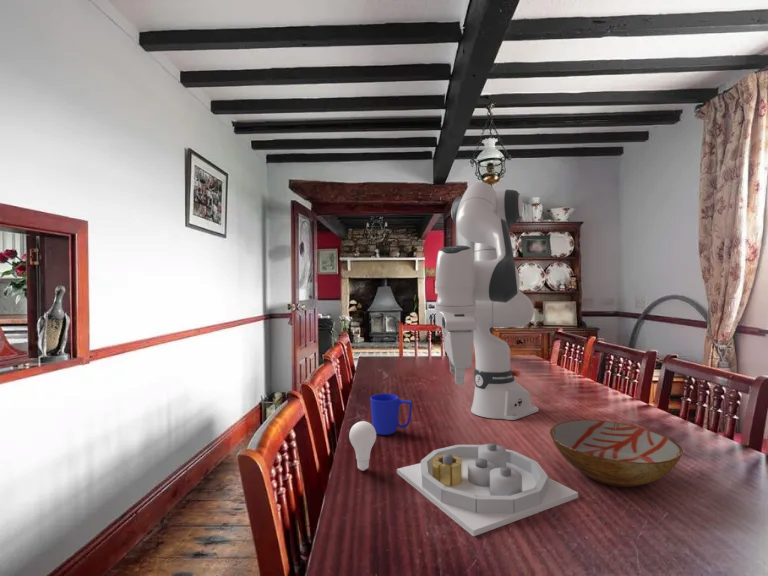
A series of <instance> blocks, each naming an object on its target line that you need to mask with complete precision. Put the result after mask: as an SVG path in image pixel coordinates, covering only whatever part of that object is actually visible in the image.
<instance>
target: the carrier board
mask: <svg viewBox="0 0 768 576" xmlns="http://www.w3.org/2000/svg"><path fill="white" fill-rule="evenodd" d="M442 454H443V464H453V458H452V455H454V456H457V457H459V458H461V459H462V469H463V480H462V483H460V485H456V486H453V487H452V486H450V487H448V486H444V485H443V484H442V483H440V482H439V481H437V480H436V479H435V478H433V471H432V460H433V458H434V457H435V456H438V455H442ZM396 474H397V475H398V476H400V478H402V479H404V481H406V482H407V483H408V484H409V485H411V486H412V487H413V488H414V489H416V491H418V492H419V493H420V494H421V495H423V497H424V498H426V499H427V500H429V501H430V502H431V503H432V504H433V505H435V506H436V507H437V508H438V509H440V510H441V511H442V512H443V513H444V514H445V515H447V517H449V518H450V519H452V521H454V522H455V523H456V524H457V525H459V526H460V527H461V528H463V530H465V531H466V532H467V533H468V534H470V535H471V536H472V537H477V536H479V535H482V534H484V533H487V532H489V531H492V530H494V529H497V528H501V527H503V526H505V525H508V524H511V523H514V522H516V521H519V520H521V519H524V518H527V517H531V516H533V515H536V514H538V513H541V512H543V511H547V510H548V509H552V508H554V507H557V506H560V505H563V504H565V503H568V502H570V501H573V500H576V499H579V492H578V491H576V490H574V489H572V488H570V487H568V486H566V485H564V484H562V483H560V482H558V481H556V480H554V479H552V478H551V477H549V476H548V474H547V473H546V472H545V471H544V469H543V468H542V466H541V465H540V464H539V462H538V461H536V460H534V459H533V458H531V457H528V456H526V455H524V454H521V453H520V452H517V451H515V450H513V449H512V450H511V449H507V448H505V447H504V446H501V445H498V444H496V443H493V442H489V443H485V444H454V445H450V446H446V447H442V448H438V449H433V450H432V451H431V452H429V453H428V454H427V455H426V456H424V457H423V458H422V459H421V460H420V462H419V463H415V464H411V465H407V466H401V467H400V468H397V469H396Z"/></svg>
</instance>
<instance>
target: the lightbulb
mask: <svg viewBox="0 0 768 576" xmlns="http://www.w3.org/2000/svg"><path fill="white" fill-rule="evenodd" d="M348 434H349V435H348V437H349V442H350V443H351V446H352V447H353V449H354V452H355V459H356V463H357V464H356V465H357V469H359V470H360V471H362V472H364V471H366V470H367V469H369V467H370V464H369V463H370V458H371V451H372V448H373V446H374V445H375V442H376V440H377V433H376V431H375V428H374V427H373V426H372V423H370V422H368V421H364V420H362V421H361V420H360V421H358V422H356V423H354V424H353V425H352V426H351V428H350V430H349V433H348Z"/></svg>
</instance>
